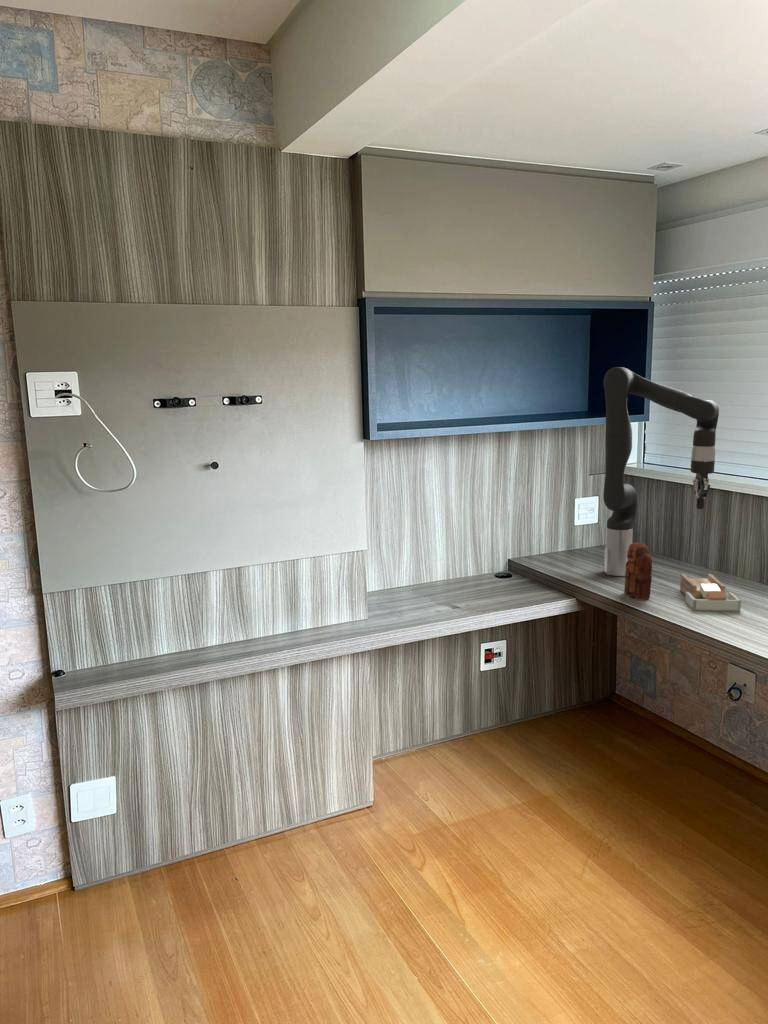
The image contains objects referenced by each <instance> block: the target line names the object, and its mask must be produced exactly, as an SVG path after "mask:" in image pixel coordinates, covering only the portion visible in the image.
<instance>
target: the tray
mask: <svg viewBox="0 0 768 1024" xmlns="http://www.w3.org/2000/svg"><path fill="white" fill-rule="evenodd" d="M685 604H686V605H687V604H688V605H687V606H688V607H689V608H690V610H692V612H730V611H740V612H741V606H742V605H741V604H742V600H741V599H739V597H737V596H736V595H735V594H734V593H733V592H728V599H726V600H706V599H695V598H694V597H693V596H692V595H691V594H690V593H689V592H686V596H685Z"/></svg>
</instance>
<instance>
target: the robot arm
mask: <svg viewBox="0 0 768 1024" xmlns="http://www.w3.org/2000/svg"><path fill="white" fill-rule="evenodd" d="M603 390H604V398H605V408H606V409H605V438H604V439H605V442H604V443H605V475H604V485H603V495H602V496H603V497H602V498H603V503H604V504H605V506H606V508H607V509H608V510H610V511H612V513H611V516H610V517H609V518H608V519H607V521H606V539H605V540H606V542H605V546H604V563H603V564H604V565H603V571H604V573H605V575H606V574H607V576H613V577H614V576H615V577H625V572H626V563H627V561H628V559H627V551H628V549H629V546H630V544H632V543H633V535H634V534H633V533H634V531H633V530H634V524H635V521H636V516H637V508H638V496H637V495H638V494H637V491H636V489H635V487H634V486H632V485H631V484H630V483H625V482H624V481H625V479H624V478H625V469H626V467H627V464H628V461H629V458H630V456H631V453H632V450H633V428H632V424H631V423H632V422H631V419H630V415H629V411H628V395H629V394H630V395H635V396H638V397H641V398H644V399H647V400H649V401H651V402H653V403H655V404H657V405H659V406H661V407H664V408H666V409H668V410H672V411H673V412H674V411H675V412H677V413H681V414H683V415H685V416H687V417H689V418H692V419H694V420H696V427H695V430H694V431H693V438H692V448H691V456H690V457H691V458H690V472H691V473H692V474H695V477H694V479H693V480H692V483H693V489H694V490H693V491H694V496H695V498H696V501H695V503H696V504H695V508H696V509H697V510H703V509H704V506H705V499H706V498H707V497H708V495H709V491H710V488H711V485H710V479H709V475H711V474H714V473H715V463H716V461H715V460H716V434H717V433H716V431H717V427H718V426H717V425H718V421H719V414H720V410H719V405H718V404H717V403H716V401H714V400H712V399H702V398H699V397H696V396H693V395H691V394H690V393H688V392H685V391H683V390H680V389H677V388H674V387H671V386H668V385H664V384H661V383H657V382H655V381H652V380H650V379H647V378H645V377H642V376H641V375H639V374H637V373H635V372H634V371H631V370H630V369H629V368H626V367H623V366H622V367H621V366H615V367H612V368H610V369H608V370H607V371H606V373H605V375H604V378H603Z"/></svg>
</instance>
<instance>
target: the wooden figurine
mask: <svg viewBox="0 0 768 1024" xmlns="http://www.w3.org/2000/svg"><path fill="white" fill-rule="evenodd" d="M627 559H628V561H627V563H626V572H625V576H624V577H625V578H624V590H623V591H624V592H623V593H624V595H625V594H626V595H625V596H628V595H629V596H628V597H629V598H631V599H636V600H639V601H643V600H649V599H650V598H651V589H652V587H651V586H652V578H653V577H652V574H653V573H652V570H653V557H652V556H651V554H650V548H649V547H648V546H647V545H646V544H645V543H643V542H639V541H636V542H632V544H630V546H629V549H628V551H627Z"/></svg>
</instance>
